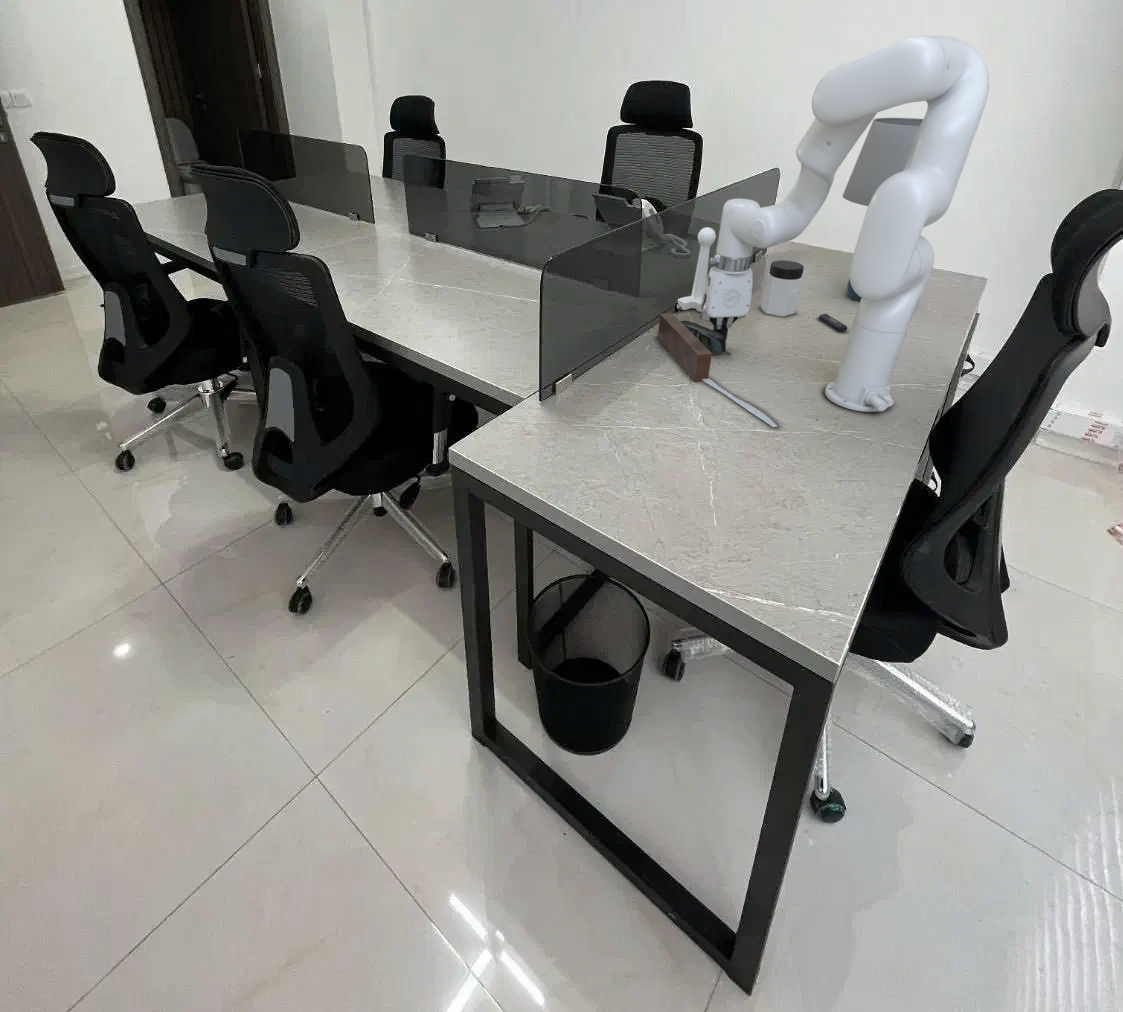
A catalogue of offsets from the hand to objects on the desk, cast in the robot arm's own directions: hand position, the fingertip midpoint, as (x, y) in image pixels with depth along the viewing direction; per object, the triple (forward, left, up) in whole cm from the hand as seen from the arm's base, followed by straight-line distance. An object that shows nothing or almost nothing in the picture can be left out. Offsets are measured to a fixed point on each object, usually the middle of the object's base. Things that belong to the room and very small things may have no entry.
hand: (718, 343), depth 152 cm
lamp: (+27, -56, -1) cm, 62 cm away
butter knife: (-24, +7, -2) cm, 25 cm away
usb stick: (+9, -35, -1) cm, 36 cm away
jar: (+21, -26, -1) cm, 33 cm away
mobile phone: (0, +3, -1) cm, 4 cm away
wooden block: (-4, +10, -1) cm, 11 cm away
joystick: (+26, -6, -1) cm, 27 cm away
